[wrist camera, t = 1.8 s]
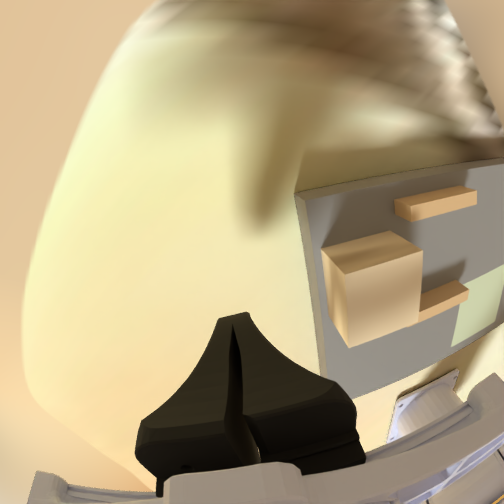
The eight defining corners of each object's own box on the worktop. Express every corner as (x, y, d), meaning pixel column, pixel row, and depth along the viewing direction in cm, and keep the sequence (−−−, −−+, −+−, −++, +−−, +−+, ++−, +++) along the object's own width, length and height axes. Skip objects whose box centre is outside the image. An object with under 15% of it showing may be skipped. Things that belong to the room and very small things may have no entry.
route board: (510, 300, 21) (530, 316, 18) (321, 388, 21) (335, 421, 17) (524, 155, 16) (553, 162, 12) (293, 193, 15) (315, 207, 12)
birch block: (390, 294, 16) (417, 321, 13) (328, 315, 16) (348, 348, 13) (389, 230, 14) (422, 250, 11) (320, 248, 14) (344, 274, 11)
